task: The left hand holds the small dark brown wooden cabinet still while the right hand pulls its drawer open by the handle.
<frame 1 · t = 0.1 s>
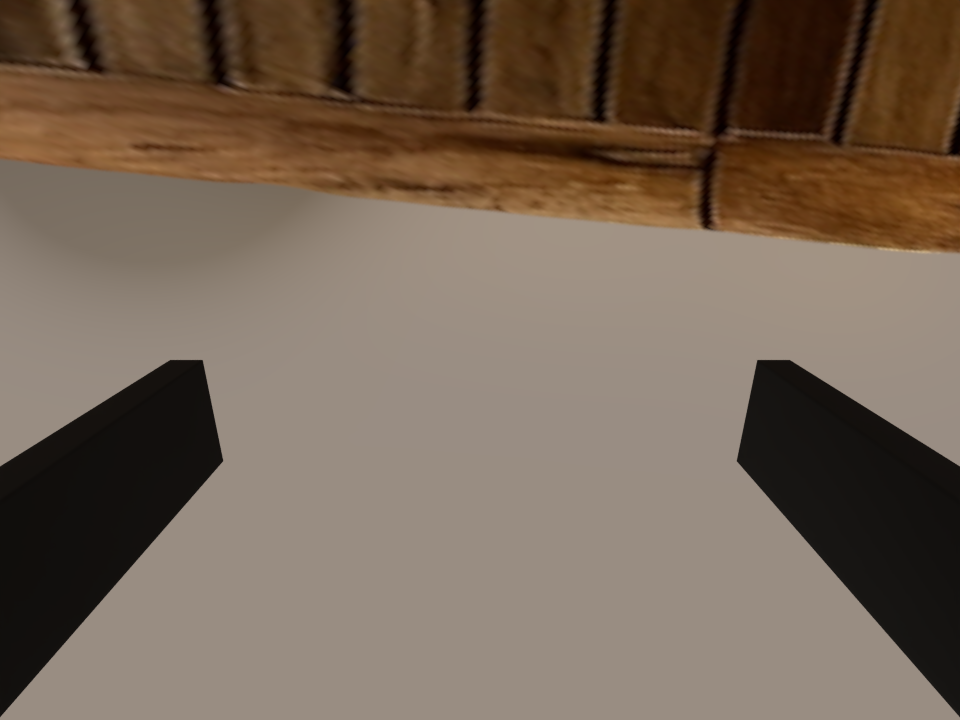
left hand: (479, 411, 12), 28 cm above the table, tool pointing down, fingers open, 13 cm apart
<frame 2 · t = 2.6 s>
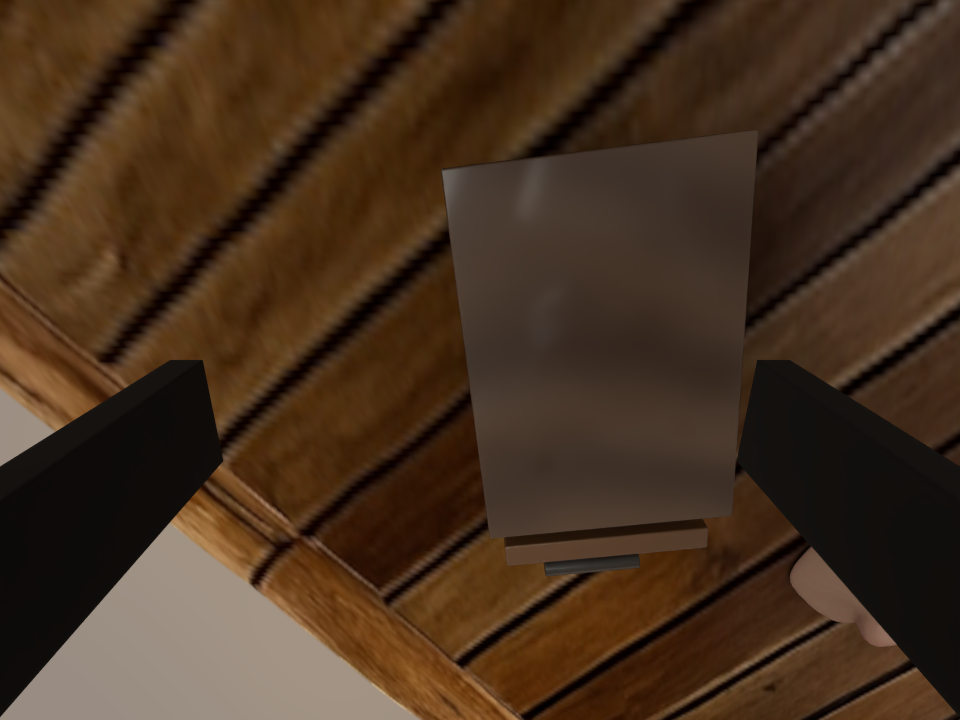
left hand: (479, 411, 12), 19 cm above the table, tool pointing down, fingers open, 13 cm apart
anatomical model: (884, 563, 38), on the table
cabinet: (563, 299, 31), on the table
drawer: (585, 428, 28), point 5 cm above the table, slide at 1.4 cm
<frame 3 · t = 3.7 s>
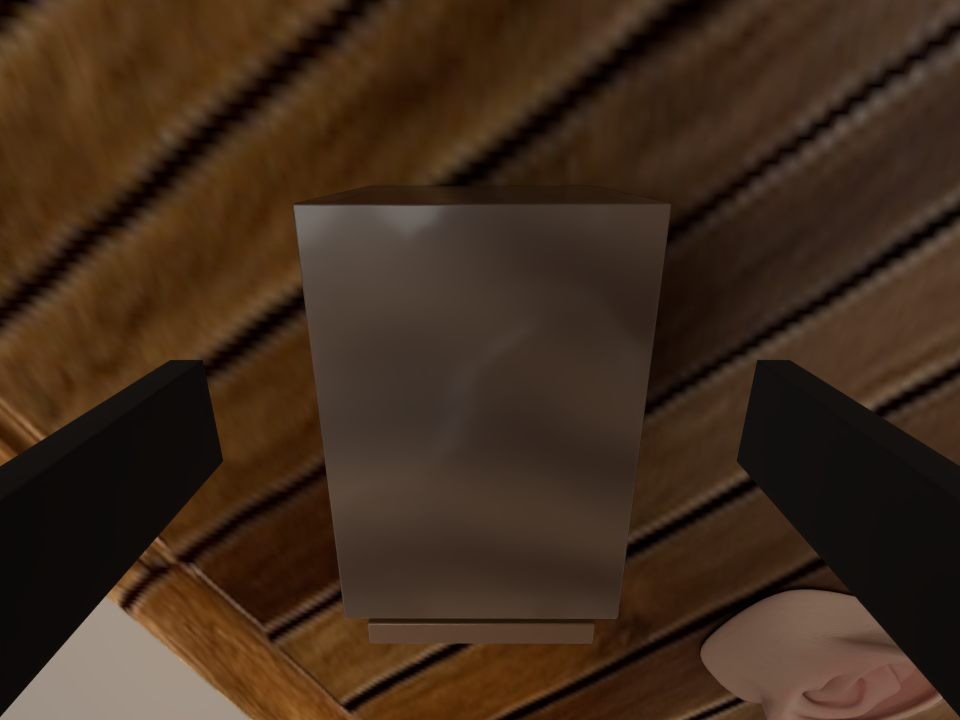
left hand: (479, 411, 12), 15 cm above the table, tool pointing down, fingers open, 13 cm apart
anatomical model: (799, 646, 36), on the table
cabinet: (481, 342, 28), on the table
drawer: (481, 491, 25), point 5 cm above the table, slide at 1.4 cm
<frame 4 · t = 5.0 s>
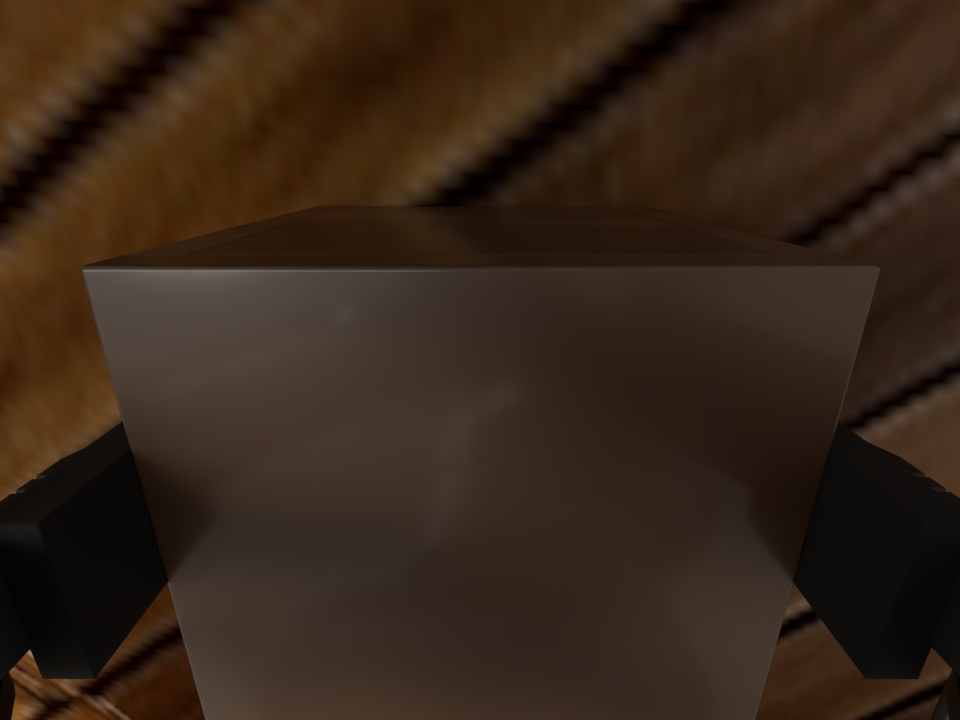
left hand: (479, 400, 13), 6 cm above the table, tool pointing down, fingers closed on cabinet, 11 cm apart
cabinet: (480, 421, 20), on the table, touching left hand
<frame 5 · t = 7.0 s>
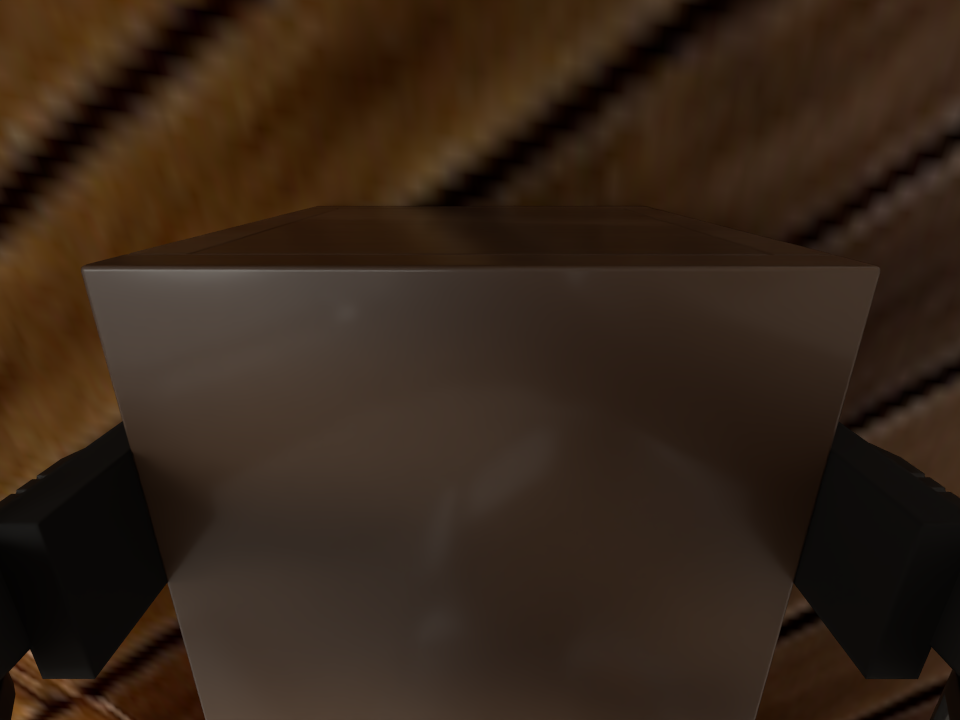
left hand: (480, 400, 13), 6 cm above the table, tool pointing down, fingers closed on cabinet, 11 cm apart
cabinet: (480, 421, 20), on the table, touching left hand
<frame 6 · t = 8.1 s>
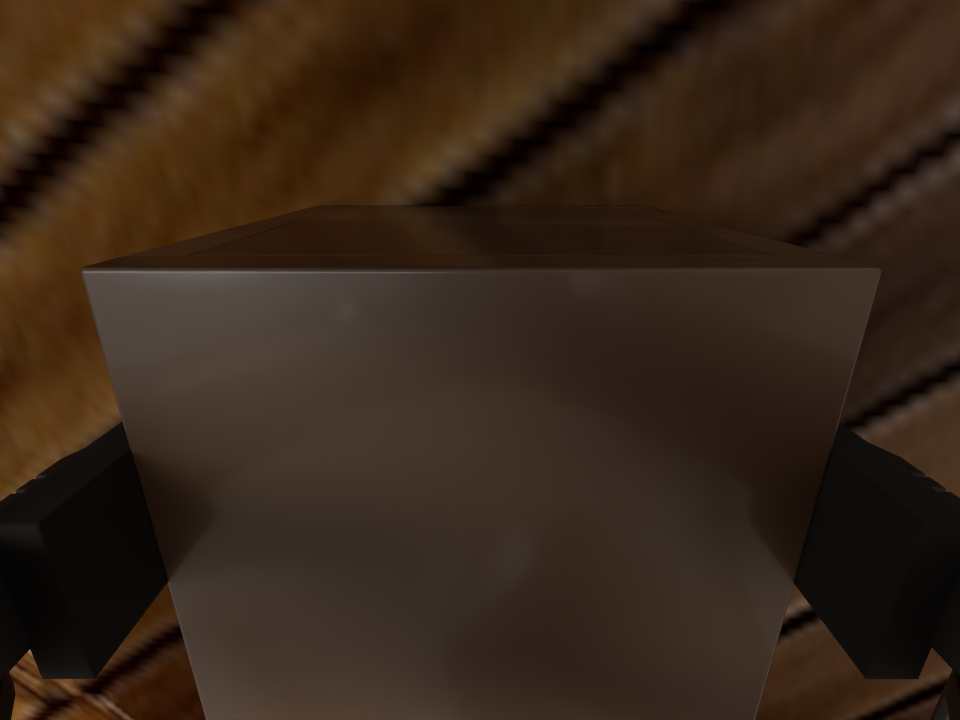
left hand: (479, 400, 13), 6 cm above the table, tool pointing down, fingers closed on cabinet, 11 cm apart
cabinet: (480, 420, 20), on the table, touching left hand
when the left hand's fingers open (6 cm above the table, at t = 9.7 s): cabinet stays where it is, on the table.
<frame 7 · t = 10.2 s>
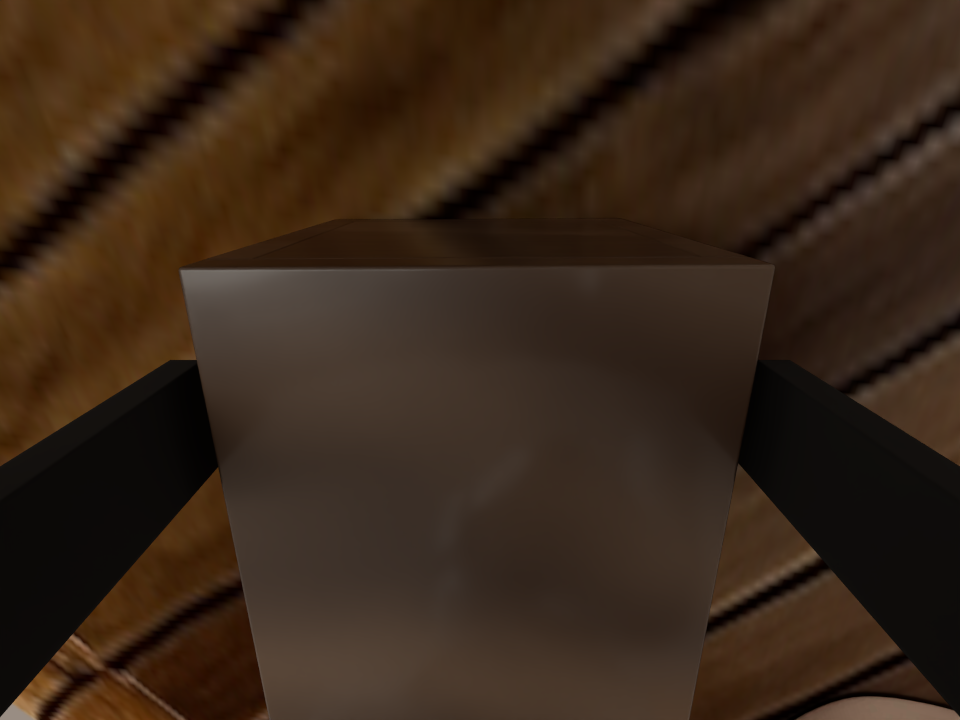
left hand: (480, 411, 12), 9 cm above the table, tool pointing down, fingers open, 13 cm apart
cabinet: (478, 410, 22), on the table
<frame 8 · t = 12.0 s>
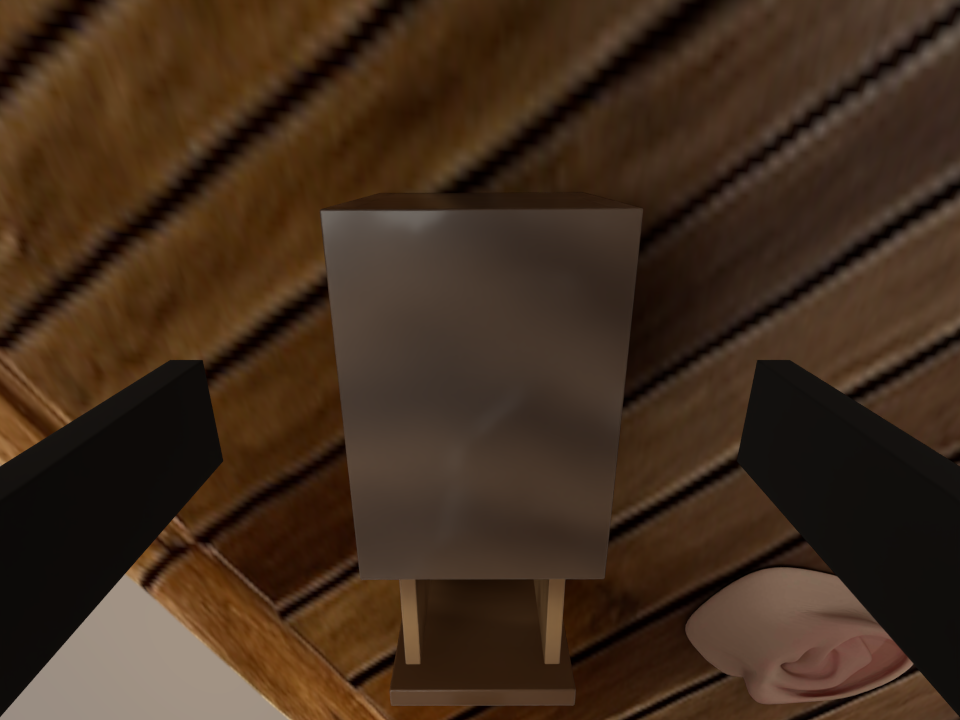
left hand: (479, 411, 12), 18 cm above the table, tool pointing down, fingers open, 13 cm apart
anatomical model: (778, 622, 39), on the table
cabinet: (481, 335, 31), on the table
drawer: (482, 573, 30), point 5 cm above the table, slide at 8.5 cm
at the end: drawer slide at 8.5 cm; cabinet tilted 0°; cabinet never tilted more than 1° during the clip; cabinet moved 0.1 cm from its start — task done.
